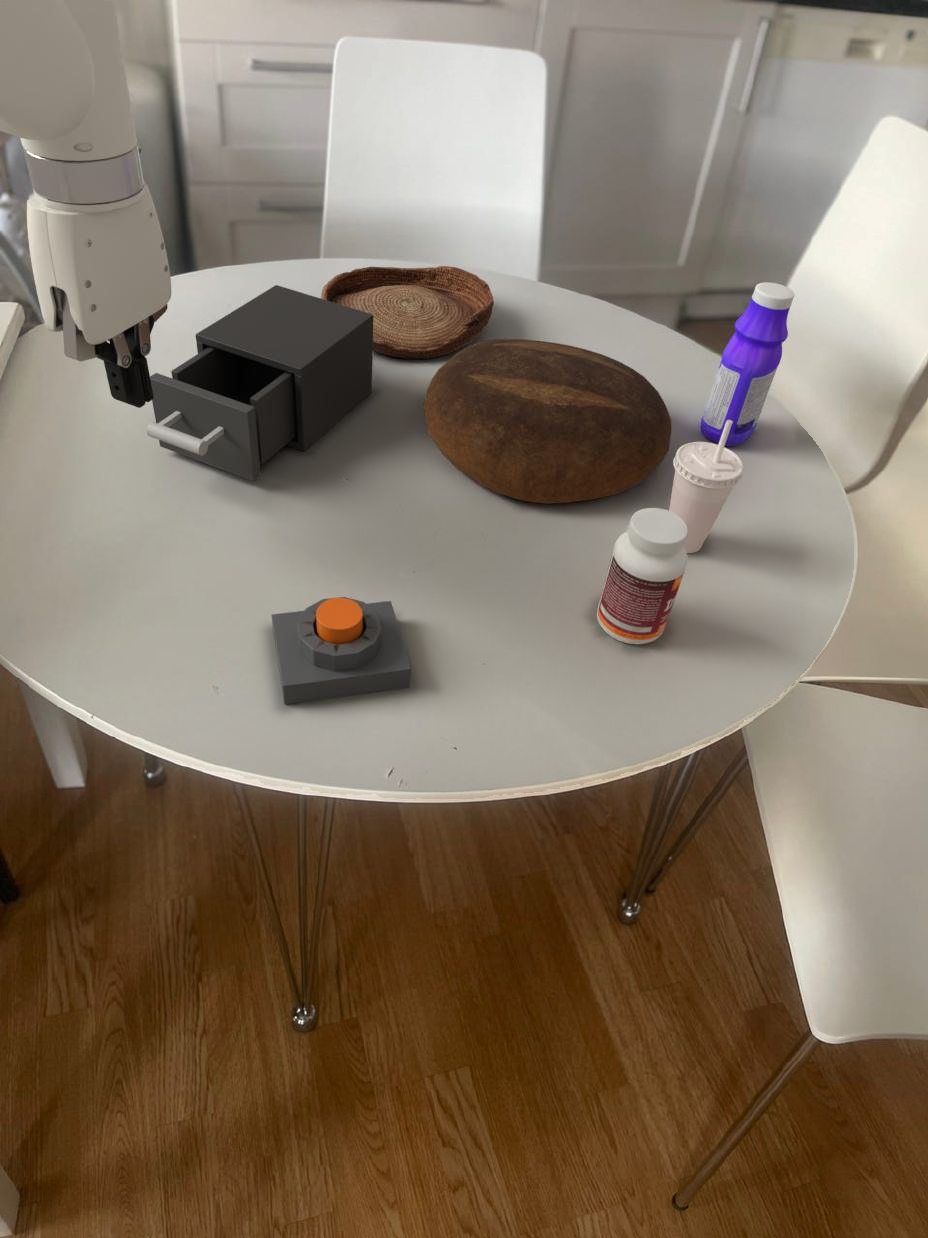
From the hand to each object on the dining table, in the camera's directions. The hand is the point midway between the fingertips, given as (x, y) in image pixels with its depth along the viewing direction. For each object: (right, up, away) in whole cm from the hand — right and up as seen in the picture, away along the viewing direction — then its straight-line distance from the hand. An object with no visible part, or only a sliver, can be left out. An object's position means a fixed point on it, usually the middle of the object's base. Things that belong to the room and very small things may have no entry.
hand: (133, 398), depth 76 cm
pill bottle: (+43, -19, +4) cm, 47 cm away
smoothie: (+50, -11, +13) cm, 53 cm away
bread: (+37, +2, +24) cm, 45 cm away
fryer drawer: (+4, 0, +17) cm, 17 cm away
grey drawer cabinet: (+9, +5, +24) cm, 27 cm away
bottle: (+59, +3, +29) cm, 66 cm away
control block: (+18, -22, -3) cm, 29 cm away
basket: (+21, +20, +41) cm, 50 cm away
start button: (+18, -20, -5) cm, 27 cm away
